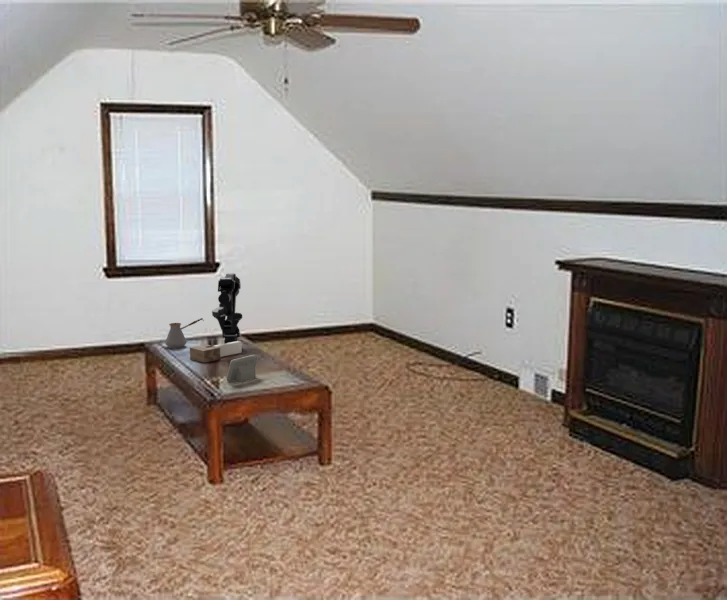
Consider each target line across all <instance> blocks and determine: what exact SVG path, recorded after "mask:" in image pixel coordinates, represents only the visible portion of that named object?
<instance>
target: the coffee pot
mask: <svg viewBox="0 0 727 600" xmlns="http://www.w3.org/2000/svg"><path fill="white" fill-rule="evenodd" d="M200 321H202V322H204V319H203V317H201V318H198V319H197V320H194V321H192V322H191V323H188V324H186V325H184V326H183V327H181V325H182V323H181V322H172V323H168V324H169V327H170V329H169V331H168V334H167V336H166V339H165V342H164V343H165V345H166V346H167V347H168V348H169V347H170V348H169V349H181V347H182V348H184V346H186V344H187V339H186V337H185V334H184V333H183V330H184V329H185V328H187V327H189V326H192V325H194V324H196V323H198V322H200Z"/></svg>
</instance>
